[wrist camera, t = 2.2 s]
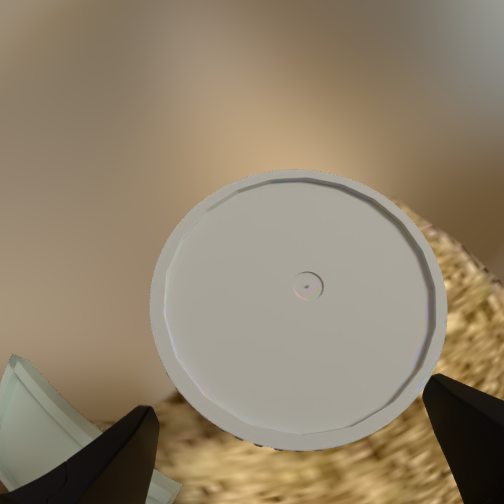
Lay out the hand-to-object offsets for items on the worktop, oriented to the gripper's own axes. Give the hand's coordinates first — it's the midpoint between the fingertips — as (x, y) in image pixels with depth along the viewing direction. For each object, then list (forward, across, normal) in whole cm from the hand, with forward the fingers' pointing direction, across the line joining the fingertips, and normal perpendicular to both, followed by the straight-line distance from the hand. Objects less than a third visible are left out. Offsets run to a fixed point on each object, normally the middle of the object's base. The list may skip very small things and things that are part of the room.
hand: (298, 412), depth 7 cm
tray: (+3, +16, +13) cm, 21 cm away
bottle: (+10, 0, +6) cm, 11 cm away
